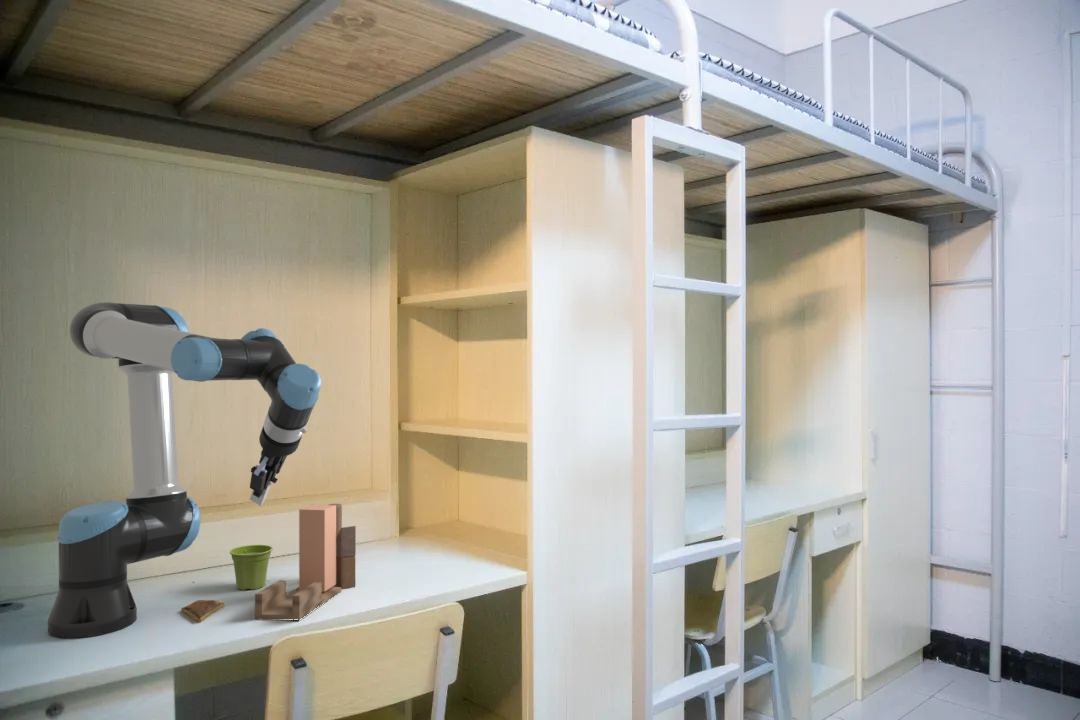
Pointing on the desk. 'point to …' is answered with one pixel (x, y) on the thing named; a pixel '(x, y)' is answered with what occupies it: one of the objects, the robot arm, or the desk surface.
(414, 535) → the desk surface
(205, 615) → the shard
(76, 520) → the robot arm
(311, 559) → the block
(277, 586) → the chute
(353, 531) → the brown stepped tower
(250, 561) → the plant pot
